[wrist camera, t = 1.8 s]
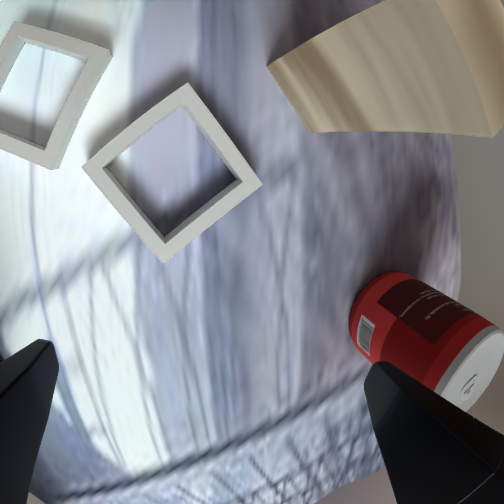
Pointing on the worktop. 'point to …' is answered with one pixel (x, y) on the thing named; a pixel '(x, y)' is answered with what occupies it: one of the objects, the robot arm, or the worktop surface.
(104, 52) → the frame
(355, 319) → the canned food
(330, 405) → the worktop surface
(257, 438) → the worktop surface
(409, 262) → the worktop surface
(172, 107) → the frame
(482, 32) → the block
